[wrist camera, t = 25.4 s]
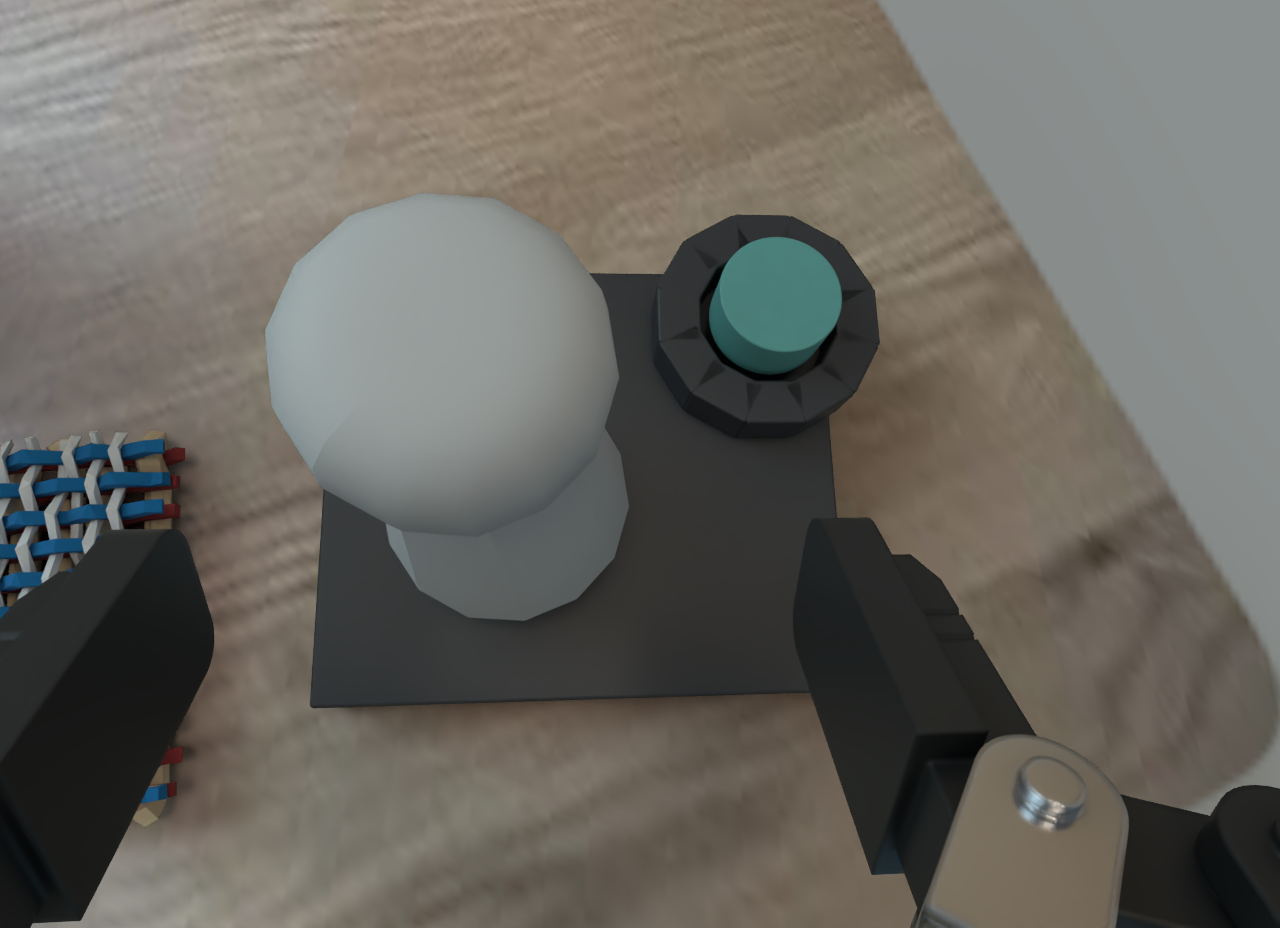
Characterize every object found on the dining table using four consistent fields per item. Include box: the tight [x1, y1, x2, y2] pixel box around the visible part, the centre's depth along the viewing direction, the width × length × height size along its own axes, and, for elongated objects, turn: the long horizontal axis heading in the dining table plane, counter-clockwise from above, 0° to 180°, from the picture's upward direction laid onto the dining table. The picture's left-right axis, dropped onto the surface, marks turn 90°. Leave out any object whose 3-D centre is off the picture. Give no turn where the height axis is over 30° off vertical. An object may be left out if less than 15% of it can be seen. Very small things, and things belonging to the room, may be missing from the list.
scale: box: [310, 215, 880, 708], centre depth 23 cm, size 15×13×4 cm
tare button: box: [709, 237, 842, 375], centre depth 21 cm, size 3×3×2 cm
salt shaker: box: [265, 193, 629, 621], centre depth 15 cm, size 6×6×13 cm
